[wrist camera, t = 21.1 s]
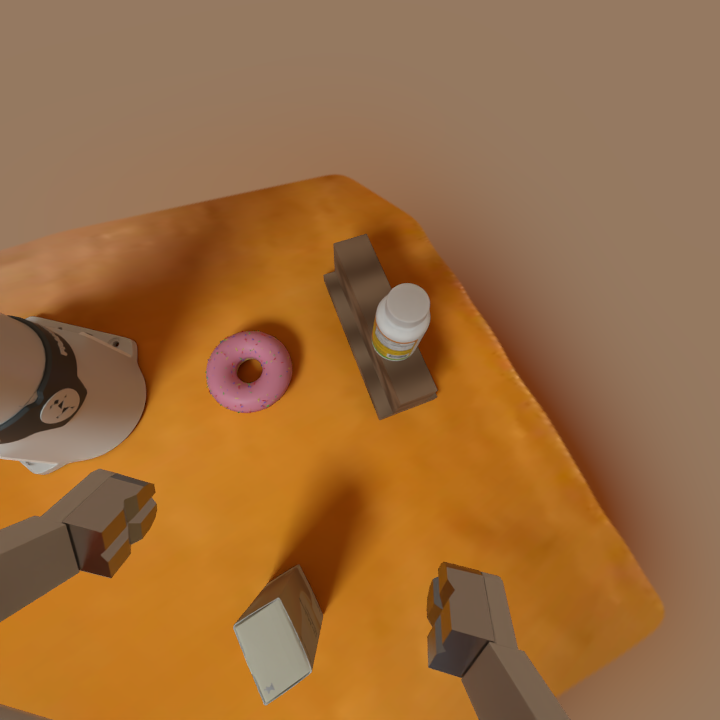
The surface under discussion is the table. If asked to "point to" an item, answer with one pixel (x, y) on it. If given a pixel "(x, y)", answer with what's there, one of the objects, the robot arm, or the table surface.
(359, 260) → the beam
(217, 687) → the table surface
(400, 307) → the supplement bottle
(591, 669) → the table surface
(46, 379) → the robot arm
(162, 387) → the table surface
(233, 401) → the doughnut
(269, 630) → the skincare box
